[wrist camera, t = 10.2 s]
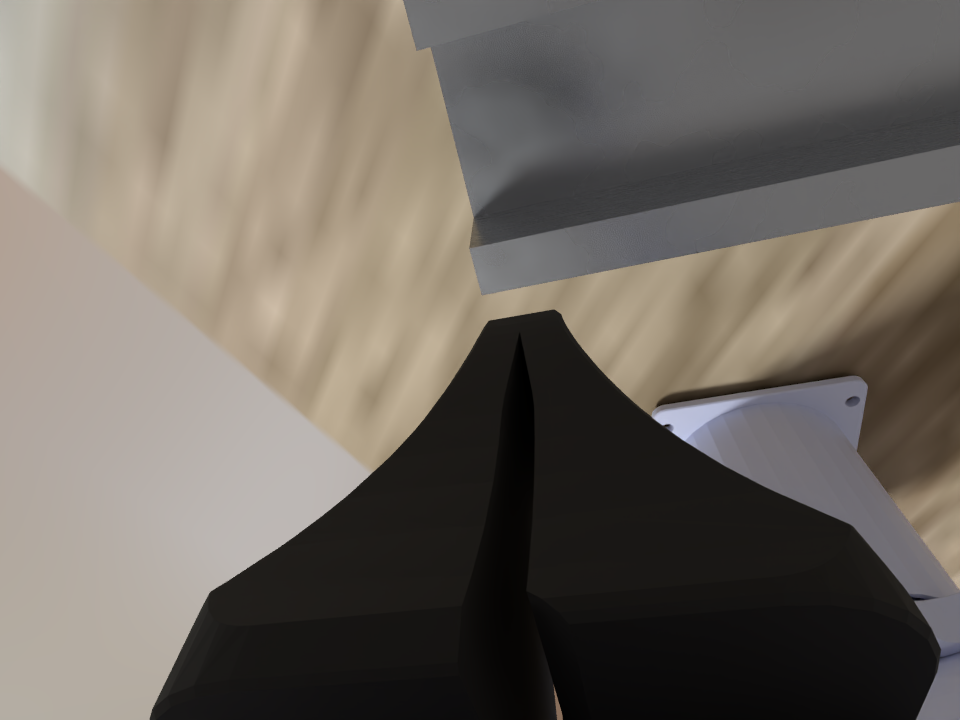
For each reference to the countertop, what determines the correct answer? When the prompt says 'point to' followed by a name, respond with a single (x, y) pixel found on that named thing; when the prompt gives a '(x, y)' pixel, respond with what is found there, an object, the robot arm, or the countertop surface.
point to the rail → (688, 122)
